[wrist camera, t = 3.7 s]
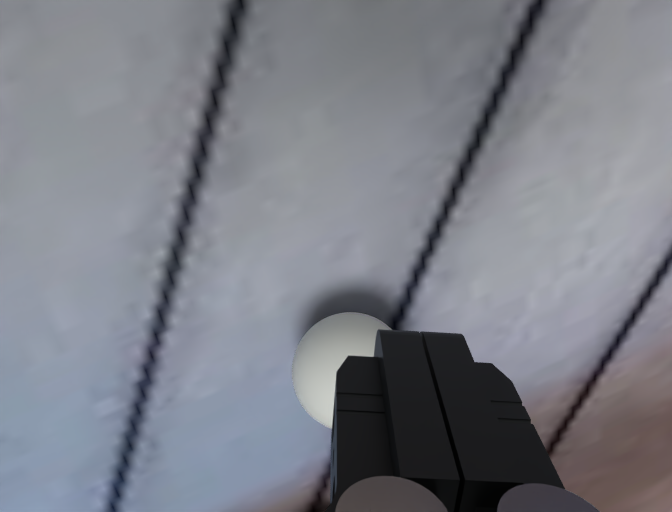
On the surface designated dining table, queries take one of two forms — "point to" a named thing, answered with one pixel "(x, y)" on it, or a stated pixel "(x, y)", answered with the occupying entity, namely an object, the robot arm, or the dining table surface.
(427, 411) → the robot arm
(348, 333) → the cue ball
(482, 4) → the dining table surface
